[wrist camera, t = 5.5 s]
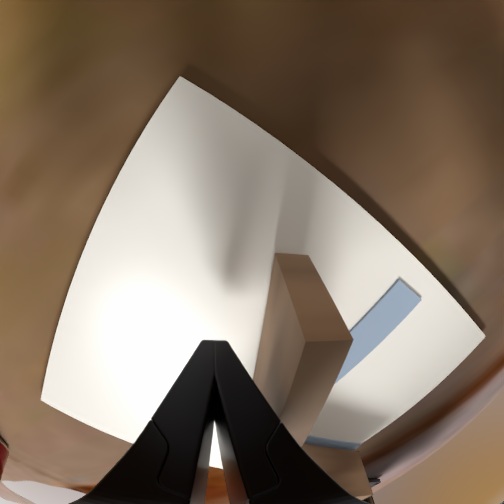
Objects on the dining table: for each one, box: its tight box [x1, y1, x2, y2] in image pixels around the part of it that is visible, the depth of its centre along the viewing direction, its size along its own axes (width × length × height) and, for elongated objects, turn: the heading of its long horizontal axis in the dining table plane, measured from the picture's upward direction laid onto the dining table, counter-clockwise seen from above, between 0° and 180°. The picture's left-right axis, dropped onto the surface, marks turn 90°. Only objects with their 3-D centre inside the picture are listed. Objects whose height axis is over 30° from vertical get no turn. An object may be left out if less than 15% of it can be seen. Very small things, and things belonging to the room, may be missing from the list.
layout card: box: [41, 76, 485, 469], centre depth 12 cm, size 19×17×1 cm
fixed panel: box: [302, 444, 373, 500], centre depth 13 cm, size 9×2×5 cm, turn 54°
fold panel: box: [253, 253, 354, 447], centre depth 9 cm, size 9×1×4 cm, turn 173°
